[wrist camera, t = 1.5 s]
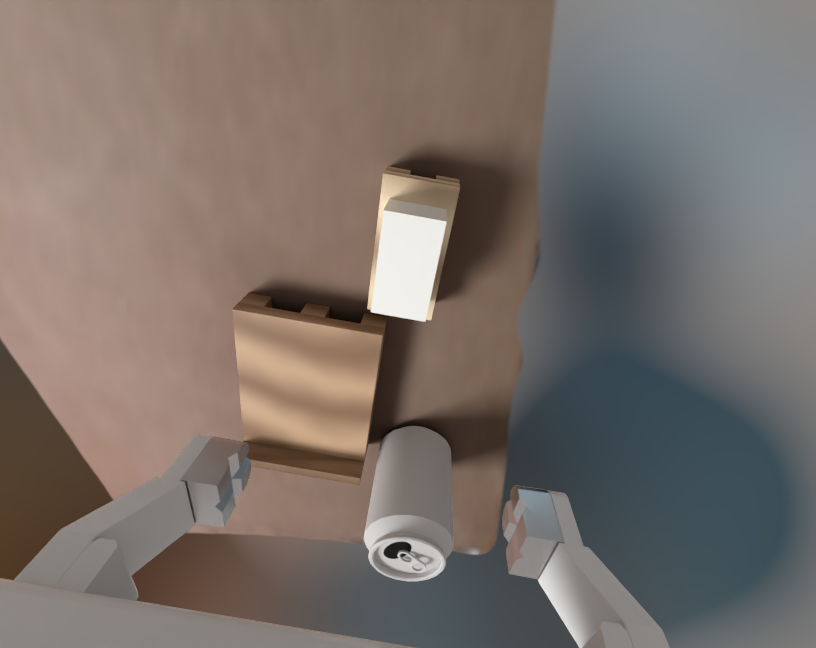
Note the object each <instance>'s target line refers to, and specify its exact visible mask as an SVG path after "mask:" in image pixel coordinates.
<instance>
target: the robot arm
mask: <svg viewBox="0 0 816 648" xmlns="http://www.w3.org/2000/svg"><path fill="white" fill-rule="evenodd" d="M248 452H249V445H248V443H246V442H241V441H236V440H230V439H225V438H220V437H214V436H208V435H203V434H197V435H195V436H194V437H193V438H192V439H191V440H190V441H189V443H188V444H187V445H186V446H185V448H184V449H183V450H182V452H181V453H180V454H179V455H178V457H177V458H176V459H175V461H174V462H173V463H172V464H171V466H170V467H169V468H168V470H167V471H166V472H165V473H164V475H163V476H162V477H161V478H160V477H155V478H153V479H152V480H150V481H148V482H146V483H144V484H143V485H141V486H139V487H137V488H135V489H133V490H132V491H130V492H128V493H126V494H124V495H122V496H121V497H119V498H117V499H115V500H113V501H112V502H110V503H108V504H106V505H104V506H103V507H101V508H99V509H97V510H95V511H93V512H91V513H90V514H88V515H86V516H84V517H82V518H81V519H79V520H77V521H75V522H73V523H71V524H70V525H68V526H66V527H64V528H62V529H61V530H60V531H59V532H58V533H57V534H56V535H55V536H54V537H53V538H52V539H51V540H50V541H49V543H48V544H47V545H46V546H45V547H44V548H43V549H42V550H41V551H40V552H39V553H38V554H37V556H36V557H35V558H34V559H33V560H32V561H31V562H30V563H29V564H28V565H27V566H26V567H25V569H24V570H23V571H22V572H21V573H20V574H19V575H18V576H17V577H16V578H15V579H14V581H12V580H7V579H1V578H0V648H415V647H408V646H403V645H397V644H390V643H384V642H379V641H373V640H367V639H360V638H355V637H348V636H343V635H337V634H331V633H325V632H319V631H312V630H306V629H301V628H295V627H289V626H283V625H277V624H271V623H265V622H259V621H253V620H247V619H241V618H235V617H229V616H223V615H217V614H211V613H205V612H199V611H193V610H187V609H181V608H175V607H169V606H163V605H157V604H151V603H145V602H139V601H136V599H137V598H138V592H137V589H136V586H135V584H134V582H133V579H132V577H131V575H132V574H134V573H135V572H136V571H137V570H138V569H140V568H141V567H142V566H144V565H145V564H146V563H148V562H149V561H150V560H151V559H153V558H154V557H155V556H156V555H158V554H159V553H160V552H161V551H163V550H164V549H165V548H166V547H168V546H169V545H170V544H171V543H173V542H174V541H175V540H176V539H178V538H179V537H180V536H181V535H183V534H184V533H185V532H187V531H188V530H189V529H190V528H192V527H193V526H194V525H195V523H199V524H207V525H214V526H221V527H224V526H225V525H226V523H227V521H228V519H229V517H230V515H231V513H232V512H233V510H234V508H235V499H234V498H235V497H237V496H238V495H240V494H241V493H243V491H244V489H245V487H246V485H247V482H248V479H249V476H250V471H251V461H250V460H249V459H248V458H247V457H246V456H247V454H248ZM510 495H511V500H510V501H508V502H506V505H505V507H504V511H503V519H502V520H503V521H502V522H503V534H504V536H505V538H506V539H507V540H508V542H509V544H508V546H507V549H506V556H507V562H508V570H509V574H513V575H518V576H524V577H529V578H534V579H539V580H538V581H539V583H540V585H541V587H542V588H543V590H544V591H545V593H546V594H547V596H548V598H549V599H550V601H551V602H552V604H553V606H554V607H555V609H556V610H557V612H558V614H559V615H560V617H561V619H562V620H563V622H564V623H565V625H566V627H567V628H568V630H569V631H570V633H571V634H572V636H573V637H574V639H575V641H576V642H577V644H578V646H579V647H580V648H669V645H668V643H667V641H666V638H665V636H664V633H663V631H662V629H661V628H660V627H659V626H658V625H657V623H656V622H655V621H654V620H653V619H652V618H651V617H650V616H649V614H648V613H647V612H646V611H645V610H644V609H643V608H642V607H641V606H640V604H639V603H638V602H637V601H636V600H635V599H634V598H633V597H632V595H630V593H629V592H628V591H627V590H626V589H625V588H624V587H623V585H622V584H621V583H620V582H619V581H618V580H617V579H616V578H615V576H614V575H613V574H612V573H611V572H610V571H609V570H608V569H607V568H606V566H605V565H604V564H603V563H602V562H601V561H600V560H599V559H598V558H597V556H596V555H595V554H594V553H593V552H592V551H591V550H590V549H589V548H588V547H584V546H583V543H582V540H581V537H580V534H579V531H578V528H577V525H576V522H575V518H574V515H573V512H572V509H571V506H570V503H569V500H568V497H567V496H566V494H565V493H560V492H553V491H547V490H543V489H536V488H530V487H523V486H516V485H515V486H514V487H513V488H512V490H511V492H510Z"/></svg>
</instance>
